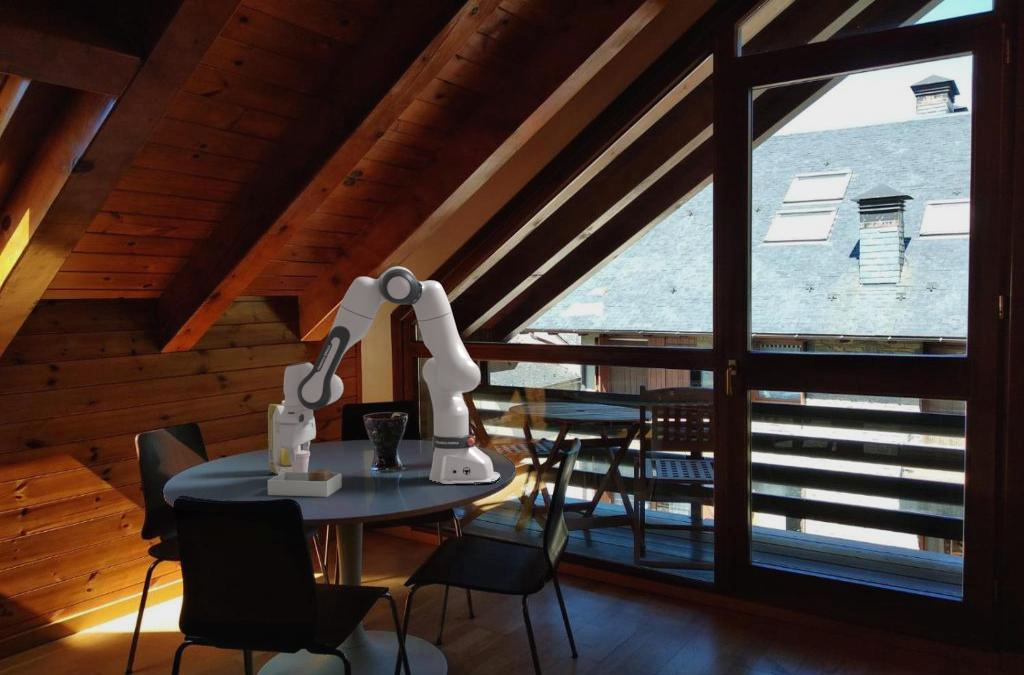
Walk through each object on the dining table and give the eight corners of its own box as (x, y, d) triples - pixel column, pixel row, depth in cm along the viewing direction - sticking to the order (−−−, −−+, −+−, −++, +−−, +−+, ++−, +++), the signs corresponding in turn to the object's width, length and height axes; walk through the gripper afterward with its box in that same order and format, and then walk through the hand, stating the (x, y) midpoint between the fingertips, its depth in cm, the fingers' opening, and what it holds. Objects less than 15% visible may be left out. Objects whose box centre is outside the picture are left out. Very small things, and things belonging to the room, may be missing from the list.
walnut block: (331, 489, 244) (330, 469, 244) (325, 493, 239) (324, 473, 239) (315, 488, 245) (314, 469, 244) (308, 492, 240) (308, 472, 239)
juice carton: (276, 476, 266) (275, 402, 264) (266, 472, 272) (265, 400, 270) (303, 472, 271) (302, 400, 270) (293, 468, 278) (291, 398, 276)
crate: (341, 489, 247) (341, 473, 247) (327, 499, 235) (327, 482, 235) (284, 487, 250) (284, 471, 249) (267, 497, 238) (267, 480, 237)
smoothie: (288, 481, 258) (287, 437, 257) (309, 479, 260) (308, 436, 260) (290, 485, 252) (289, 440, 251) (312, 484, 254) (311, 439, 254)
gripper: (301, 409, 266) (302, 451, 266) (275, 418, 245) (276, 464, 246) (320, 409, 265) (321, 452, 265) (295, 419, 245) (296, 464, 245)
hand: (299, 458), depth 256 cm, fingers open, 8 cm apart
